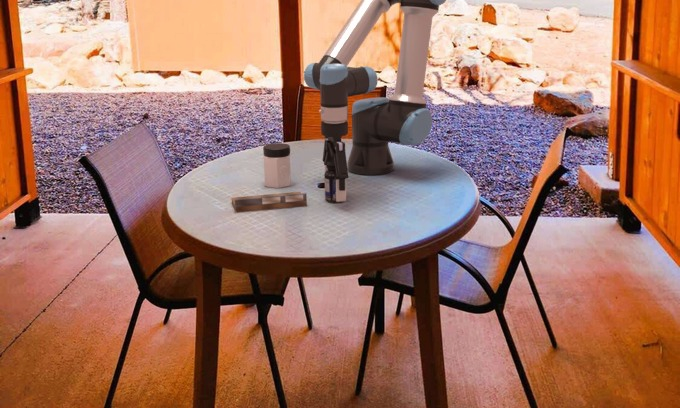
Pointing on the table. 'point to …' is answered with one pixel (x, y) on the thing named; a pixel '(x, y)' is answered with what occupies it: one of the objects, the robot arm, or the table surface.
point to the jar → (277, 165)
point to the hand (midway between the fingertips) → (335, 194)
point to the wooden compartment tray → (269, 201)
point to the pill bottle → (330, 183)
